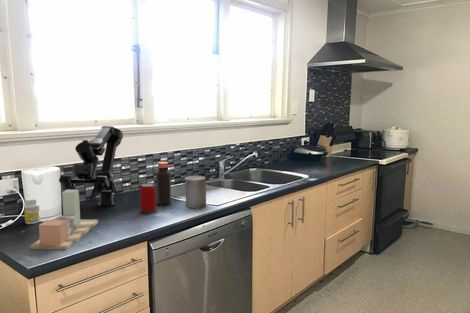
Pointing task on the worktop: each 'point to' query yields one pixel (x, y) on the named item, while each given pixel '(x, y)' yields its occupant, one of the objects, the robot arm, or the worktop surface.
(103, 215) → the worktop surface
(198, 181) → the pillar candle
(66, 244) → the base board
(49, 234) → the socket block
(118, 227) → the worktop surface
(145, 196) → the beverage can
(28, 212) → the supplement bottle
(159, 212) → the worktop surface
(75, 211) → the pale green slab
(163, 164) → the vinegar
